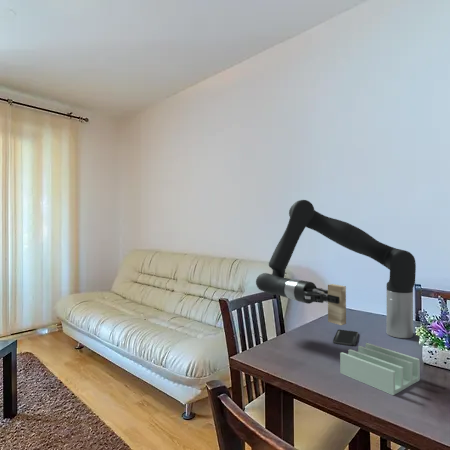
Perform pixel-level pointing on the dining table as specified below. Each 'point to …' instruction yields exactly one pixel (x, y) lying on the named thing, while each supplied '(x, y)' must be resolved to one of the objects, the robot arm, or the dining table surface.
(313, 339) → the dining table surface
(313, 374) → the dining table surface
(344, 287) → the tan wooden block
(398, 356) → the slotted rack
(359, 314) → the dining table surface
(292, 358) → the dining table surface
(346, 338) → the phone
